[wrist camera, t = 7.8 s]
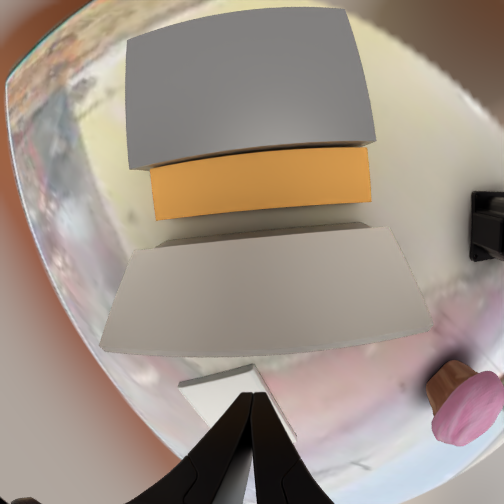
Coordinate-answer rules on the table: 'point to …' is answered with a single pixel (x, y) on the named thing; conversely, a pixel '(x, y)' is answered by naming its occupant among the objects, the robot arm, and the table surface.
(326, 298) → the panel
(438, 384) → the cupcake
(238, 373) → the external hard drive
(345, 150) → the orange bar
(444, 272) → the table surface
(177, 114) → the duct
